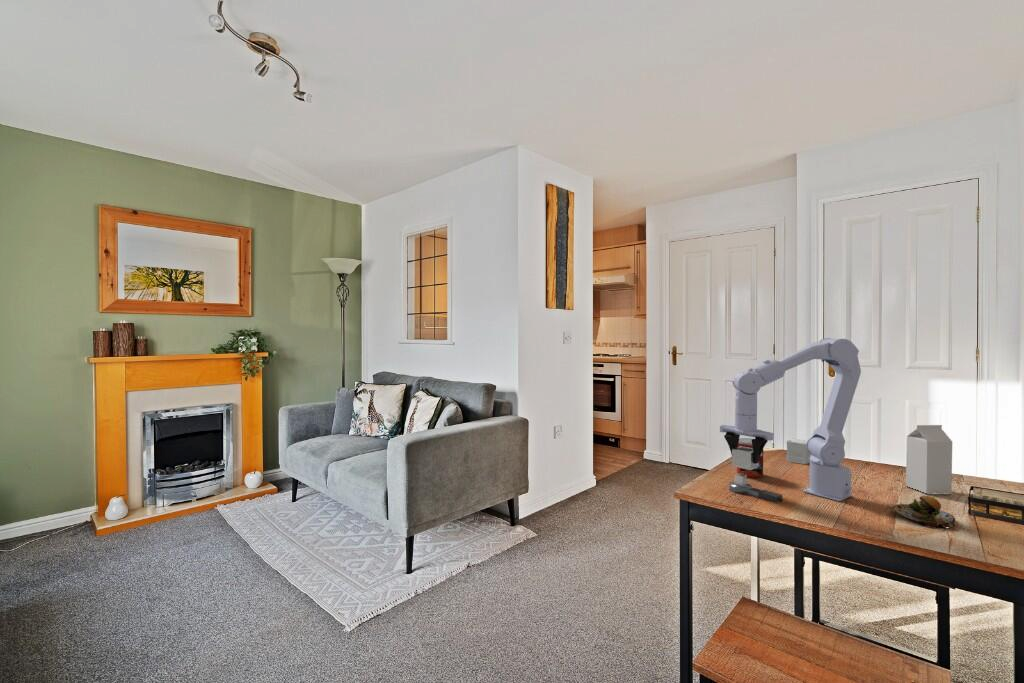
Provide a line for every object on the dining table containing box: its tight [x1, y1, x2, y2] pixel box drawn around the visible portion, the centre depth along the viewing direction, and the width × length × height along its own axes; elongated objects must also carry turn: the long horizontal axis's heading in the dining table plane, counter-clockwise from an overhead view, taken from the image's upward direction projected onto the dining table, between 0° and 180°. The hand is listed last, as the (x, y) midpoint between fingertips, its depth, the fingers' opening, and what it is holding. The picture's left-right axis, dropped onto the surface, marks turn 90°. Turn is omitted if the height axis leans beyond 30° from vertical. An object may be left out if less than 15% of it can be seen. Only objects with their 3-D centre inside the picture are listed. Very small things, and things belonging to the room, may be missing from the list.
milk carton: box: [905, 424, 953, 495], centre depth 137 cm, size 7×7×19 cm
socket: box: [731, 446, 759, 470], centre depth 139 cm, size 5×5×5 cm
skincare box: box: [786, 438, 811, 465], centre depth 168 cm, size 6×6×7 cm
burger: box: [892, 491, 956, 529], centre depth 117 cm, size 12×12×8 cm
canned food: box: [736, 437, 764, 479], centre depth 153 cm, size 8×8×11 cm
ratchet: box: [728, 472, 783, 504], centre depth 135 cm, size 14×6×5 cm, turn 34°
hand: (745, 460), depth 139 cm, fingers closed on socket, 5 cm apart
